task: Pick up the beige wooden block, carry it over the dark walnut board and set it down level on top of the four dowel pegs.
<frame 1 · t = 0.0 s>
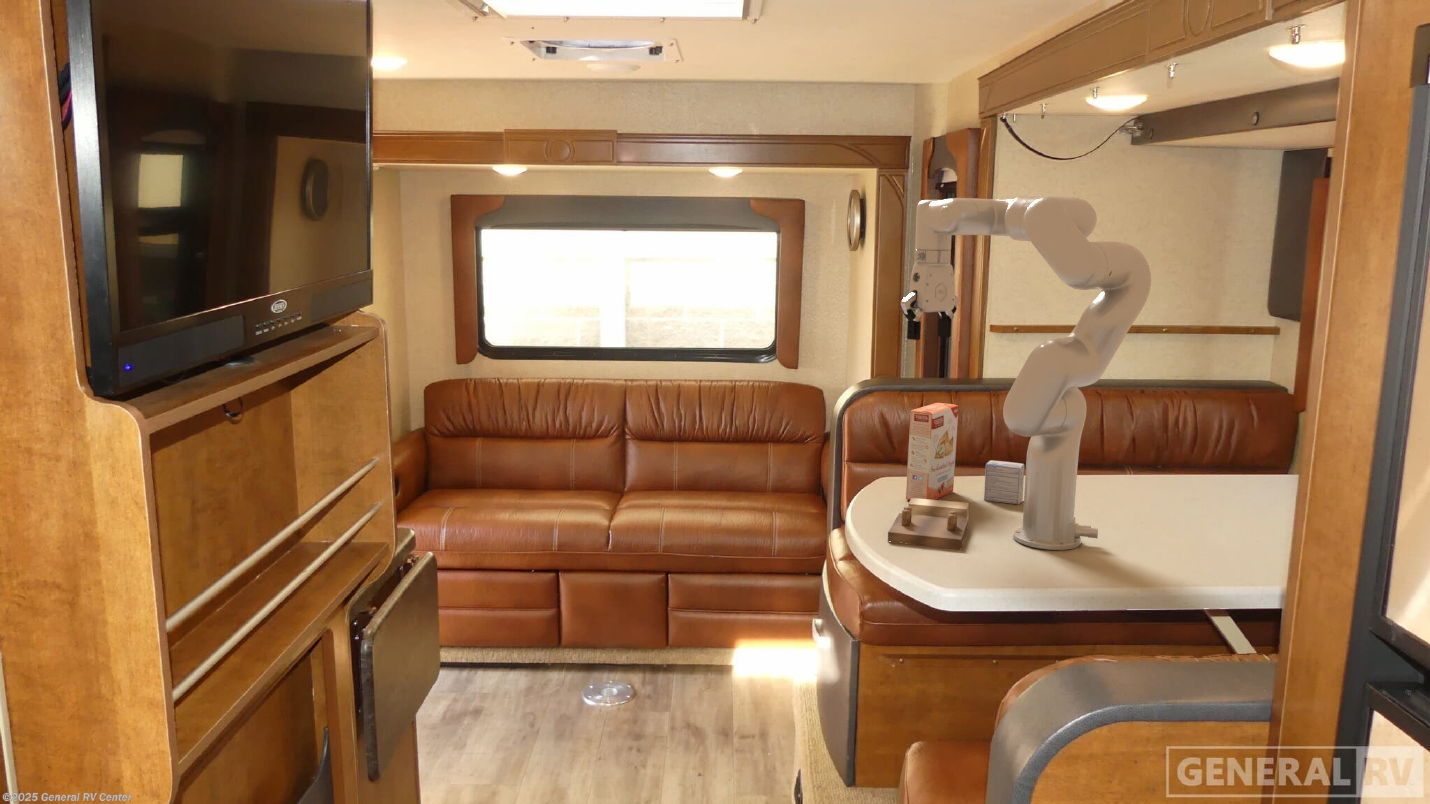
hand: (929, 338, 219), 37 cm above the table, tool pointing down, fingers open, 9 cm apart
beige wooden block: (938, 521, 214), on the table
cracker box: (930, 497, 233), on the table
peg board: (928, 535, 203), on the table
medicine box: (1003, 501, 229), on the table
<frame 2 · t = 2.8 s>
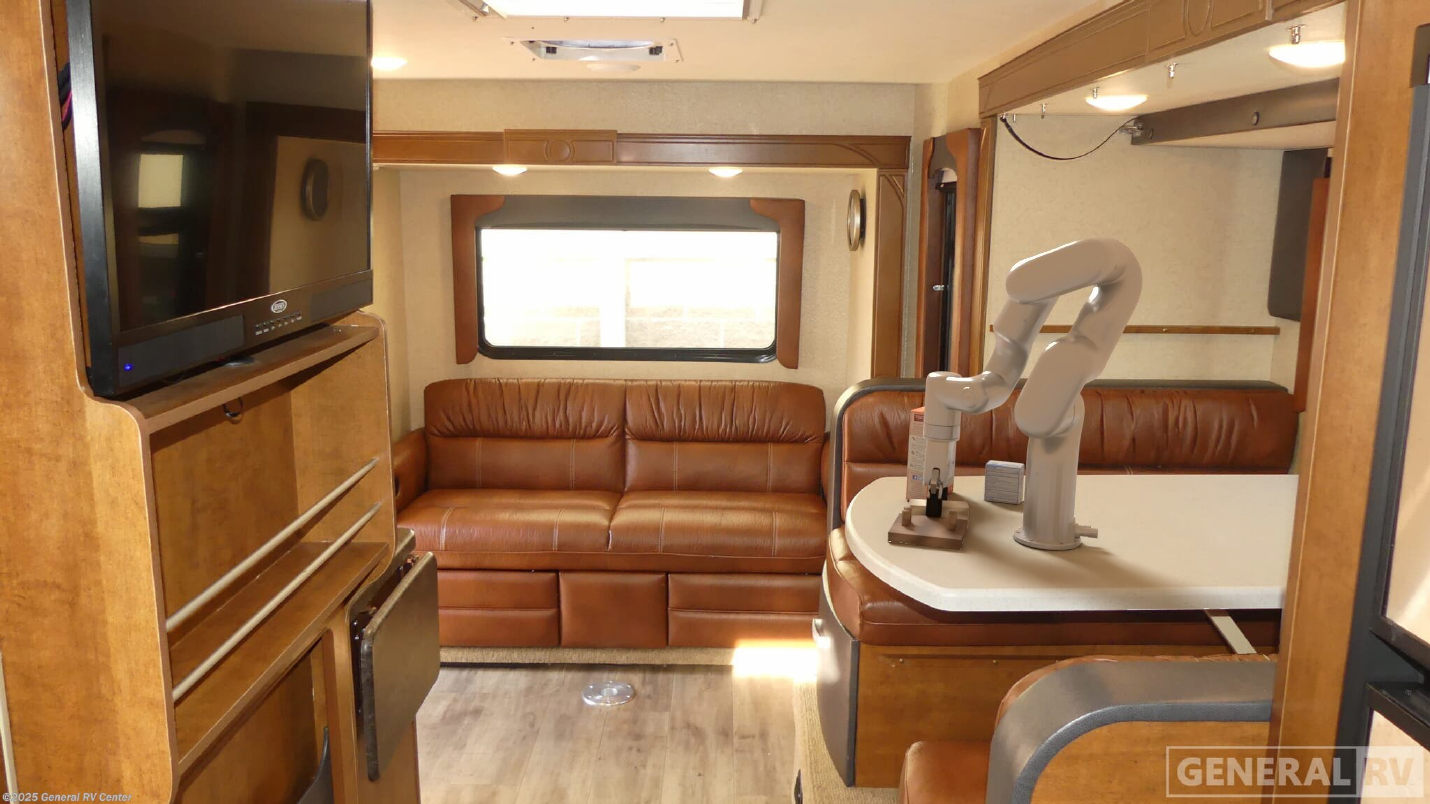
hand: (936, 510, 214), 2 cm above the table, tool pointing down, fingers open, 9 cm apart
nothing on the table moved.
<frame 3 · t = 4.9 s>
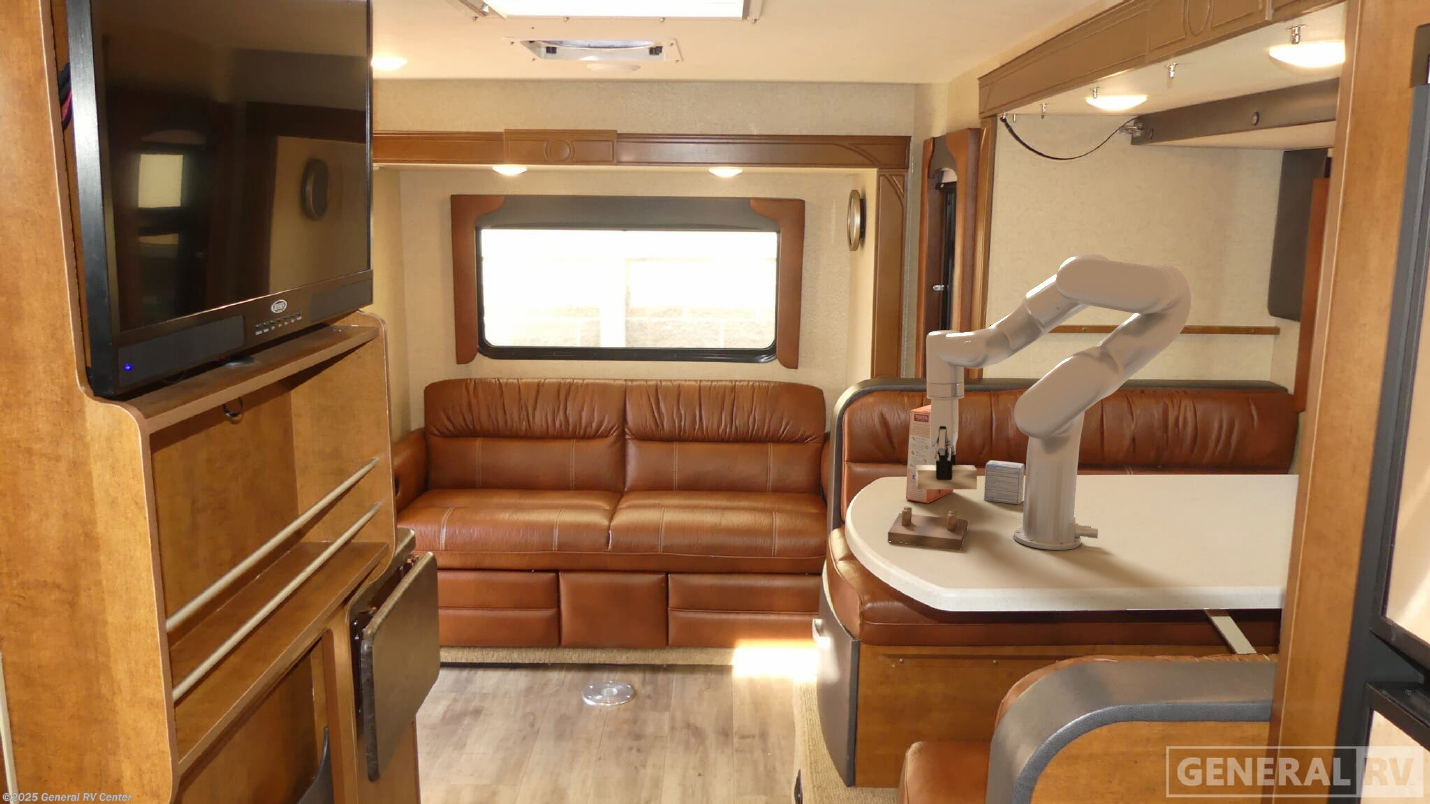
hand: (946, 475, 211), 10 cm above the table, tool pointing down, fingers closed on beige wooden block, 5 cm apart
beige wooden block: (945, 486, 211), point 8 cm above the table, touching gripper
everything else where it was.
when the fingers open (7 cm above the table, at t = 8.4 s): beige wooden block stays where it is, resting on peg board.
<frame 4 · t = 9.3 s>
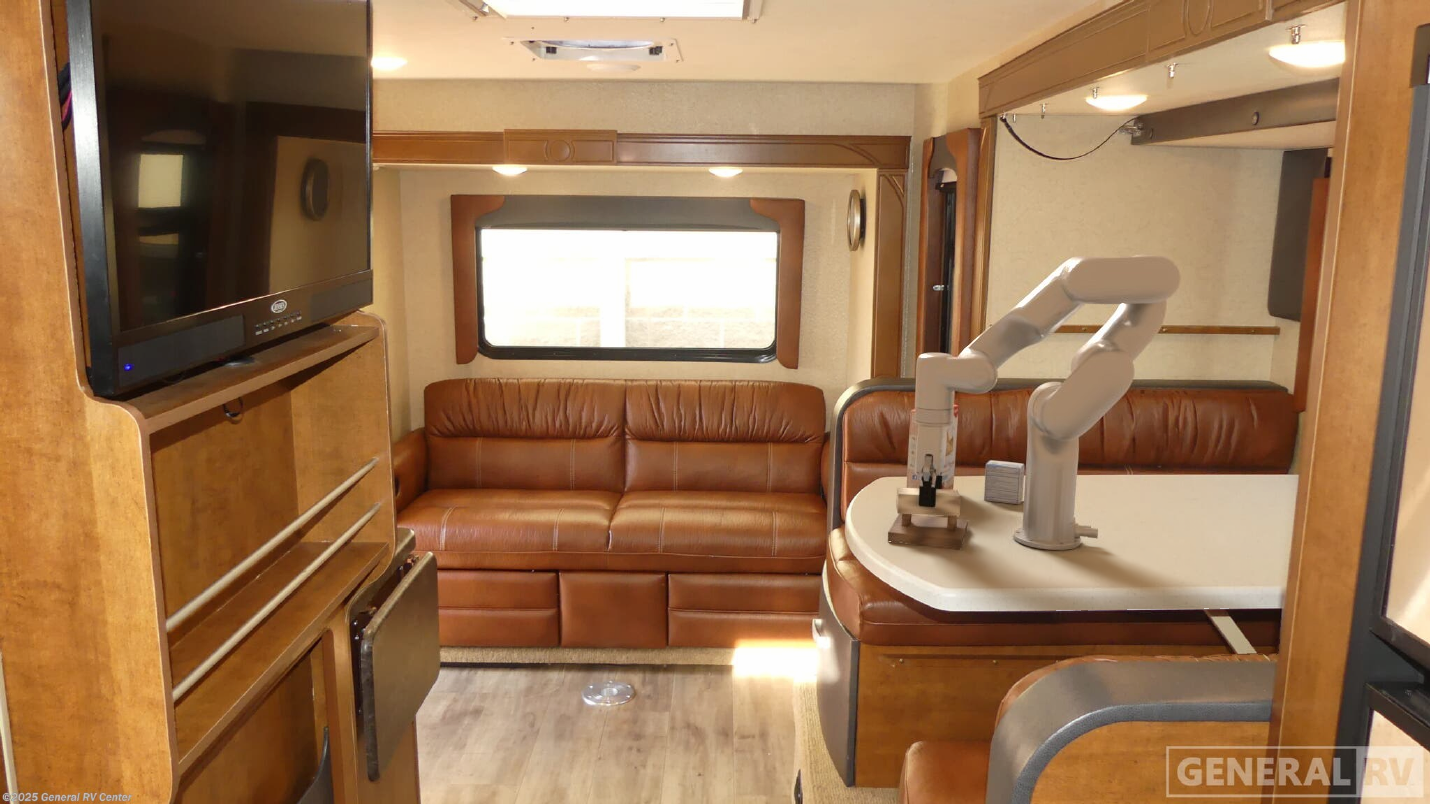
hand: (930, 500, 202), 7 cm above the table, tool pointing down, fingers open, 9 cm apart
beige wooden block: (927, 511, 202), point 5 cm above the table, touching peg board
everything else where it was.
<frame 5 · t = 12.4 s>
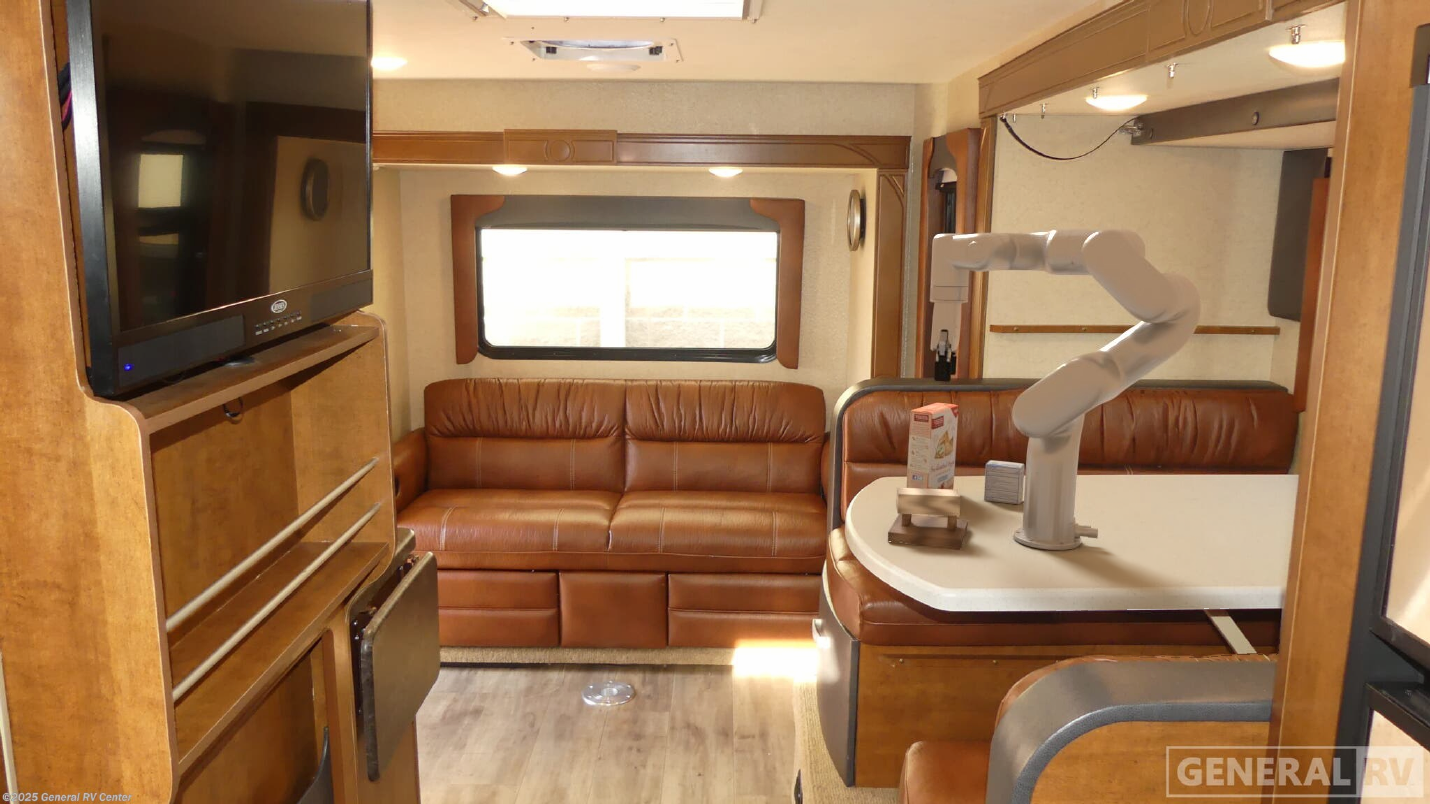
hand: (945, 377, 209), 30 cm above the table, tool pointing down, fingers open, 9 cm apart
nothing on the table moved.
at the end: beige wooden block 0.4 cm off-centre on the peg board, point 5.0 cm above the peg board's base; beige wooden block tilted 0°; the gripper is holding nothing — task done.
